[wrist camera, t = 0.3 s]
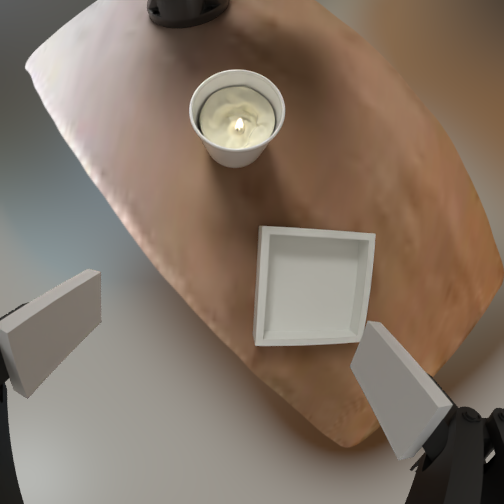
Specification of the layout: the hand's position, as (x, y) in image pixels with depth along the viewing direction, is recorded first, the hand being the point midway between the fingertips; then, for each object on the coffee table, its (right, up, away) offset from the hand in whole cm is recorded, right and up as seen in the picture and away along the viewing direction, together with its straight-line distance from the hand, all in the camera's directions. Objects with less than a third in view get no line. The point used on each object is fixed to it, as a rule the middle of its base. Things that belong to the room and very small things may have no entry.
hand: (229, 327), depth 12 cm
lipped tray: (+10, -1, +27) cm, 29 cm away
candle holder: (-1, +19, +25) cm, 31 cm away
